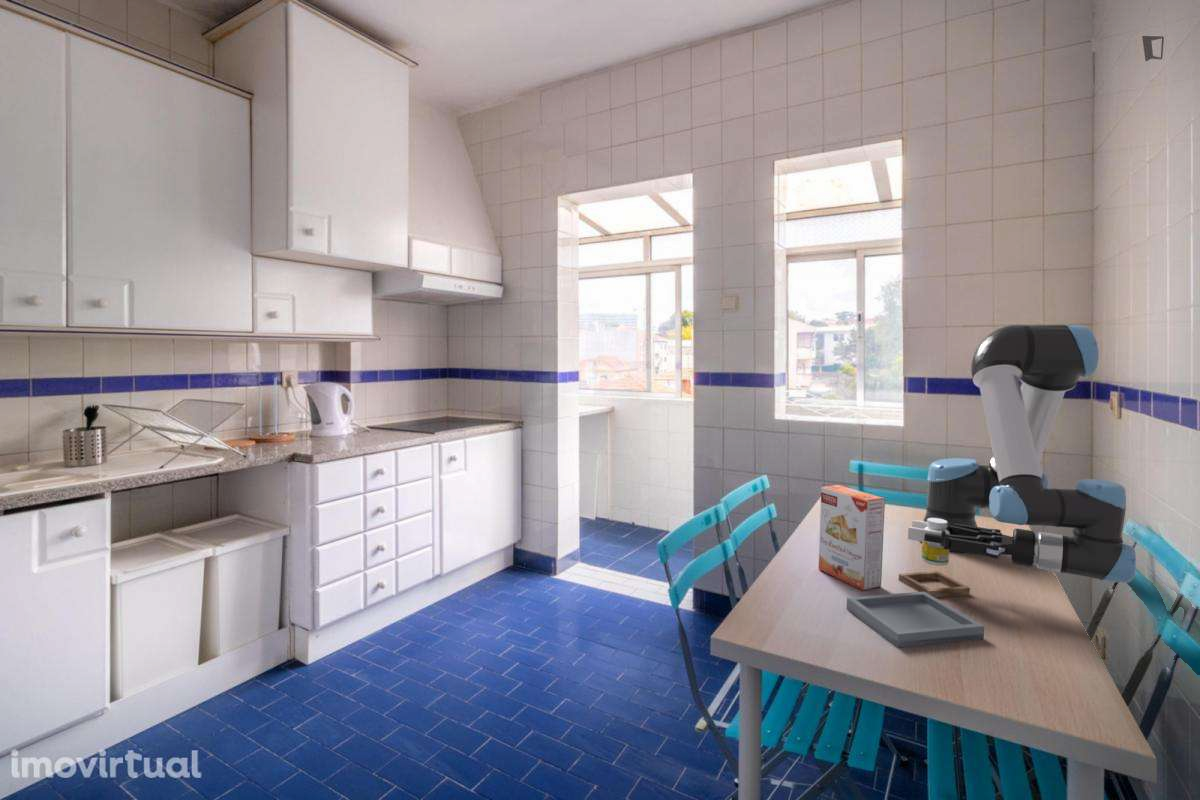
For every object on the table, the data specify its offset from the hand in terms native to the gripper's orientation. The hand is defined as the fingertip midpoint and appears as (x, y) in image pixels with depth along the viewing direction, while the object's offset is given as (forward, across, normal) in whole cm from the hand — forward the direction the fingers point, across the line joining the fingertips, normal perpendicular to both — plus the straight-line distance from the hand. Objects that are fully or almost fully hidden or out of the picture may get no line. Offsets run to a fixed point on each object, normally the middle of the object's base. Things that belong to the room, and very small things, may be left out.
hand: (910, 529), depth 138 cm
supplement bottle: (-5, 0, -7) cm, 9 cm away
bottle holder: (-5, 0, -13) cm, 14 cm away
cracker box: (+12, -6, -13) cm, 18 cm away
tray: (-4, -22, -12) cm, 26 cm away
